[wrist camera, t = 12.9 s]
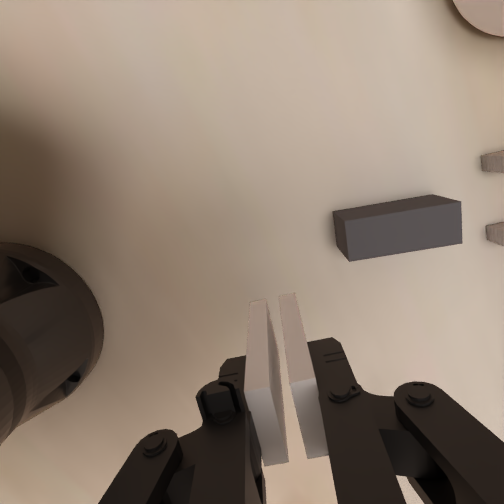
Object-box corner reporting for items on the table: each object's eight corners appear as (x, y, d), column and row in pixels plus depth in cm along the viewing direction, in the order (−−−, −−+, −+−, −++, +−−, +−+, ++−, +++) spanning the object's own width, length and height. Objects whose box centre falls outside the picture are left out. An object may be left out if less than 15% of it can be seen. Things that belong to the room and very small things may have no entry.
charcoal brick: (336, 246, 31) (349, 261, 27) (332, 211, 30) (344, 221, 26) (433, 230, 31) (462, 243, 26) (431, 194, 30) (461, 201, 25)
